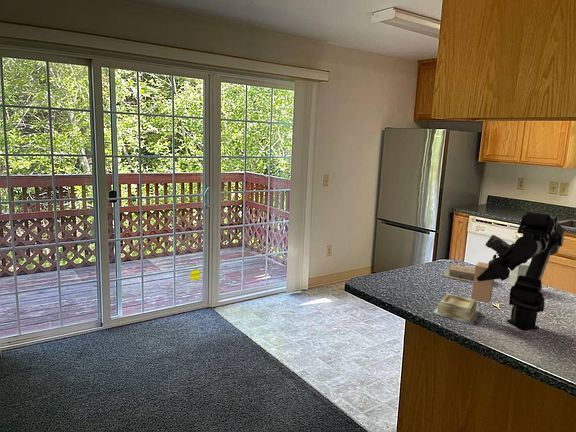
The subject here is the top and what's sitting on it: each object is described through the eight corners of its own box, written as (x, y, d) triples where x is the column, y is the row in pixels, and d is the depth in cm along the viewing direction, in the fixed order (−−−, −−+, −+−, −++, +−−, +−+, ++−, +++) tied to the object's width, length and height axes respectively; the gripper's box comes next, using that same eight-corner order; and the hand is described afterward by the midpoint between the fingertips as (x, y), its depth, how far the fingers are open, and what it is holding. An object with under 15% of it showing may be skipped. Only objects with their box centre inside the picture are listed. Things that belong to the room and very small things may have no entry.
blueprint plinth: (479, 312, 142) (481, 299, 141) (472, 324, 132) (474, 311, 131) (442, 302, 149) (444, 291, 148) (432, 313, 139) (434, 301, 138)
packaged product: (494, 269, 174) (491, 276, 166) (493, 281, 175) (489, 288, 167) (448, 261, 184) (443, 266, 175) (447, 272, 185) (442, 278, 176)
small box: (530, 292, 163) (535, 266, 161) (514, 291, 164) (518, 264, 162) (523, 285, 170) (527, 260, 168) (508, 284, 171) (512, 258, 169)
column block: (491, 298, 136) (495, 265, 134) (488, 303, 132) (493, 268, 130) (474, 294, 139) (478, 261, 137) (471, 299, 135) (475, 265, 132)
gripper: (509, 223, 136) (468, 250, 144) (501, 233, 121) (455, 263, 129) (533, 252, 134) (490, 278, 142) (528, 266, 118) (480, 294, 126)
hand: (479, 277), depth 135 cm, fingers closed on column block, 5 cm apart
